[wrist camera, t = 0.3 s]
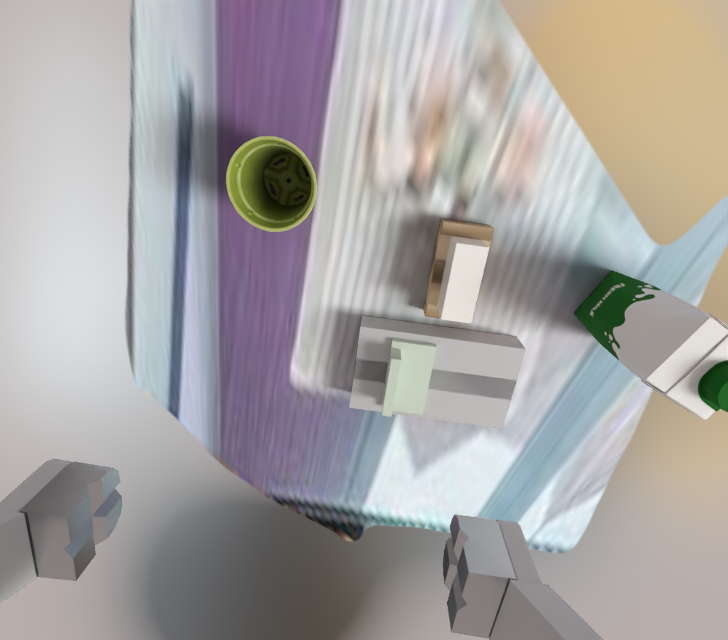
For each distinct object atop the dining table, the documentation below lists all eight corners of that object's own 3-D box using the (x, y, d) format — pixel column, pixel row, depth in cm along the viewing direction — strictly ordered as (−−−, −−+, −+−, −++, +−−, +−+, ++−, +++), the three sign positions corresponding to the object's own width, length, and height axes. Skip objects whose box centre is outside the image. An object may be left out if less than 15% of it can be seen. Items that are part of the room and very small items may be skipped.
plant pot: (277, 233, 55) (258, 247, 47) (235, 163, 52) (208, 165, 44) (341, 197, 53) (333, 205, 45) (301, 123, 50) (285, 117, 42)
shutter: (392, 338, 55) (392, 351, 51) (436, 344, 55) (439, 357, 51) (381, 405, 59) (380, 422, 55) (422, 411, 59) (424, 427, 55)
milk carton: (613, 349, 58) (720, 441, 40) (562, 314, 57) (647, 392, 38) (663, 297, 56) (803, 371, 37) (610, 259, 54) (728, 315, 36)
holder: (440, 218, 53) (443, 221, 51) (489, 225, 53) (494, 228, 51) (423, 309, 58) (425, 316, 55) (468, 315, 58) (471, 322, 55)
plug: (448, 232, 54) (456, 243, 47) (477, 236, 54) (489, 247, 47) (434, 301, 57) (440, 319, 51) (462, 304, 57) (471, 323, 51)
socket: (362, 315, 58) (360, 326, 55) (516, 336, 58) (525, 349, 55) (351, 392, 63) (349, 407, 59) (495, 412, 63) (502, 428, 59)
